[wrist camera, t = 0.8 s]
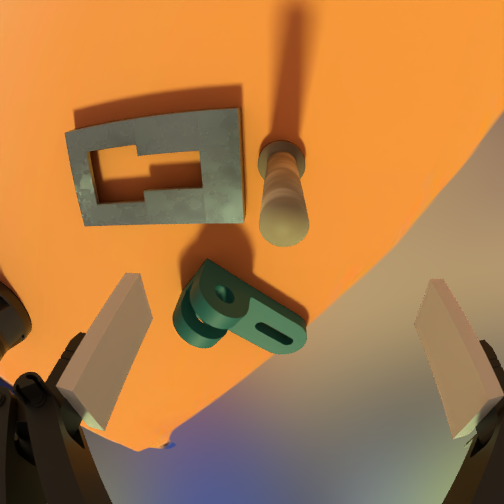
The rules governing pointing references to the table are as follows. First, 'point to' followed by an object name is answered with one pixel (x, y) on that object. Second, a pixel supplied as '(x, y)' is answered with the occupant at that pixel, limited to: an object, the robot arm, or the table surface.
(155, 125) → the keyhole plate
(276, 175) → the peg
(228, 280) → the bracket
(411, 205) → the table surface
